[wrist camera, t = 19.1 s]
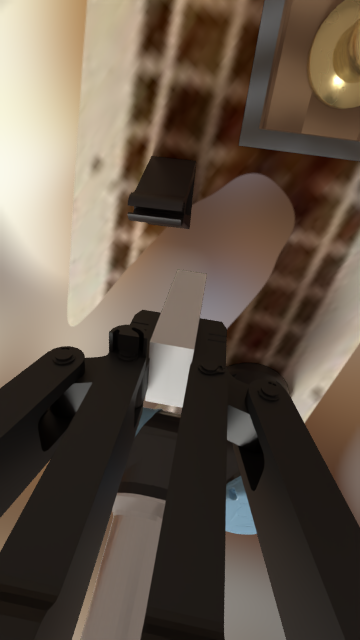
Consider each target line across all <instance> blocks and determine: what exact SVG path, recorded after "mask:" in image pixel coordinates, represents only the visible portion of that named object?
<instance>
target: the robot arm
mask: <svg viewBox="0 0 360 640" xmlns="http://www.w3.org/2000/svg"><path fill="white" fill-rule="evenodd" d="M206 276H207V274H204V273H198V272H192V271H185V270H179V269H178V270H177V272H176V276H175V278H174V280H173V283H172V285H171V288H170V291H169V293H168V296H167V298H166V301H165V304H164V307H163V309H162V311H161V313H159V312H153V311H147V310H142V311H140V312H139V313H137V314H136V315H135V316H134V318H133V320H132V322H131V324H130V325H121V326H117V327H115V328H113V329H112V330H111V331H110V332H109V353H108V355H106V356H103V357H94V358H85V356H84V354H83V352H82V351H81V350H79V349H78V348H74V347H70V346H67V347H59V348H55V349H53V350H51V351H49V352H47V353H46V354H45V355H43V356H42V357H41V358H39V359H38V360H37V361H36V362H34V363H33V364H32V365H30V366H29V367H28V368H26V369H25V370H24V371H22V372H21V373H20V374H19V375H17V376H16V377H15V378H13V379H12V380H11V381H9V382H8V383H7V384H5V385H4V386H3V387H1V388H0V517H1V516H2V515H3V514H4V513H5V512H6V510H7V509H8V508H9V507H10V506H11V505H12V503H13V502H14V501H15V500H16V499H17V498H18V496H19V495H20V494H21V493H22V492H23V491H24V489H25V488H26V487H27V486H28V485H29V484H30V482H31V481H32V480H33V479H34V478H35V477H36V476H37V474H38V473H39V472H40V471H41V470H42V469H43V467H44V466H45V465H46V464H47V463H48V462H49V460H50V459H51V460H50V462H49V464H48V465H47V467H46V469H45V471H44V473H43V475H42V476H41V478H40V480H39V482H38V484H37V485H36V487H35V489H34V491H33V493H32V495H31V497H30V498H29V500H28V502H27V504H26V506H25V508H24V509H23V511H22V513H21V515H20V517H19V519H18V520H17V522H16V524H15V526H14V528H13V530H12V532H11V533H10V535H9V537H8V539H7V541H6V542H5V544H4V546H3V548H2V550H1V552H0V640H72V637H73V634H74V630H75V627H76V624H77V621H78V618H79V614H80V611H81V608H82V605H83V602H84V598H85V595H86V592H87V589H88V586H89V582H90V579H91V576H92V573H93V570H94V566H95V563H96V560H97V556H98V553H99V550H100V547H101V544H102V541H103V537H104V534H105V531H106V528H107V524H108V521H109V518H110V515H111V511H113V515H114V518H113V522H112V525H111V528H110V532H109V536H108V540H107V543H106V547H105V551H104V555H103V558H102V562H101V565H100V569H99V573H98V577H97V580H96V584H95V588H94V592H93V596H92V599H91V603H90V606H89V610H88V614H87V618H86V621H85V625H84V628H83V632H82V636H81V640H225V639H224V586H225V585H224V583H225V531H228V532H232V533H237V534H257V535H258V539H259V543H260V546H261V550H262V553H263V557H264V561H265V564H266V568H267V572H268V575H269V579H270V582H271V586H272V589H273V593H274V597H275V600H276V604H277V608H278V611H279V614H280V618H281V622H282V626H283V629H284V632H285V636H286V640H360V527H359V525H358V523H357V521H356V520H355V518H354V516H353V514H352V512H351V510H350V508H349V507H348V505H347V503H346V501H345V499H344V497H343V495H342V493H341V491H340V490H339V488H338V486H337V484H336V482H335V480H334V478H333V477H332V475H331V473H330V471H329V469H328V467H327V465H326V463H325V461H324V459H323V458H322V456H321V454H320V452H319V450H318V448H317V446H316V444H315V442H314V441H313V439H312V437H311V435H310V433H309V431H308V429H307V428H306V426H305V424H304V422H303V420H302V418H301V416H300V414H299V412H298V411H297V409H296V407H295V405H294V403H293V401H292V399H291V397H290V394H289V390H288V386H287V384H286V382H285V380H284V379H283V377H282V376H281V375H280V374H279V373H277V372H276V371H274V370H273V369H271V368H269V367H266V366H264V365H260V364H254V363H240V364H235V365H231V366H228V367H226V337H227V329H226V327H225V326H224V324H223V323H222V322H219V321H213V320H207V319H201V318H200V313H201V307H202V300H203V295H204V289H205V283H206ZM145 395H146V401H150V402H155V403H160V404H166V405H171V406H177V407H182V413H181V414H177V413H172V412H168V411H163V410H162V409H150V408H144V407H143V401H144V398H145Z"/></svg>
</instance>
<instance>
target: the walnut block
mask: <svg viewBox="0 0 360 640" xmlns="http://www.w3.org/2000/svg"><path fill="white" fill-rule="evenodd" d="M343 1H345V0H265V1H264V6H263V12H262V17H261V23H260V29H259V34H258V40H257V45H256V51H255V56H254V62H253V68H252V73H251V79H250V84H249V90H248V95H247V101H246V107H245V112H244V118H243V123H242V129H241V135H240V140H239V146H247V147H255V148H262V149H270V150H278V151H285V152H293V153H301V154H308V155H316V156H324V157H331V158H339V159H346V160H354V161H360V106H358V107H353V108H347V109H336V108H331V107H329V106H326V105H325V104H323V103H322V102H320V101H319V100H318V99H317V98H316V96H315V95H314V94H313V92H312V90H311V88H310V85H309V82H308V77H307V58H308V53H309V49H310V46H311V43H312V41H313V38H314V36H315V34H316V32H317V30H318V29H319V27H320V26H321V24H322V23H323V22H324V20H325V19H326V18H327V17H328V16H329V14H330V13H331V12H332V11H333V10H334V9H335V8H336V7H337V6H338V5H339V4H341V3H342V2H343Z"/></svg>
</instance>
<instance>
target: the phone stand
mask: <svg viewBox="0 0 360 640" xmlns="http://www.w3.org/2000/svg"><path fill="white" fill-rule="evenodd" d="M195 168H196V161H192V160H182V159H173V158H164V157H154V156H151V159H150V161H149V163H148V165H147V167H146V169H145V171H144V173H143V175H142V178H141V180H140V182H139V184H138V186H137V188H136V190H135V192H133V193H131V194H130V196H129V200H128V205H130V206H134V213H130V212H128V218H129V220H131V221H139V222H146V223H148V224H152V225H160V226H169V227H177V228H185V229H189V227H190V218H191V208H192V198H193V188H194V178H195Z"/></svg>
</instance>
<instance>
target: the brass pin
mask: <svg viewBox="0 0 360 640" xmlns="http://www.w3.org/2000/svg"><path fill="white" fill-rule="evenodd" d="M307 77H308V82H309V85H310V88H311V90H312V92H313V94H314V95H315V96H316V98H317V99H318V100H319V101H320V102H322V103H323V104H325V105H326V106H329V107H331V108H336V109H347V108H353V107H358V106H360V0H345V1H343V2H342V3H341V4H339V5H338V6H337V7H336V8H335V9H334V10H333V11H332V12H331V13H330V14H329V16H328V17H327V18H326V19H325V20H324V22H323V23H322V24H321V26H320V27H319V29H318V30H317V32H316V34H315V36H314V38H313V41H312V43H311V46H310V49H309V53H308V58H307Z"/></svg>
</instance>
